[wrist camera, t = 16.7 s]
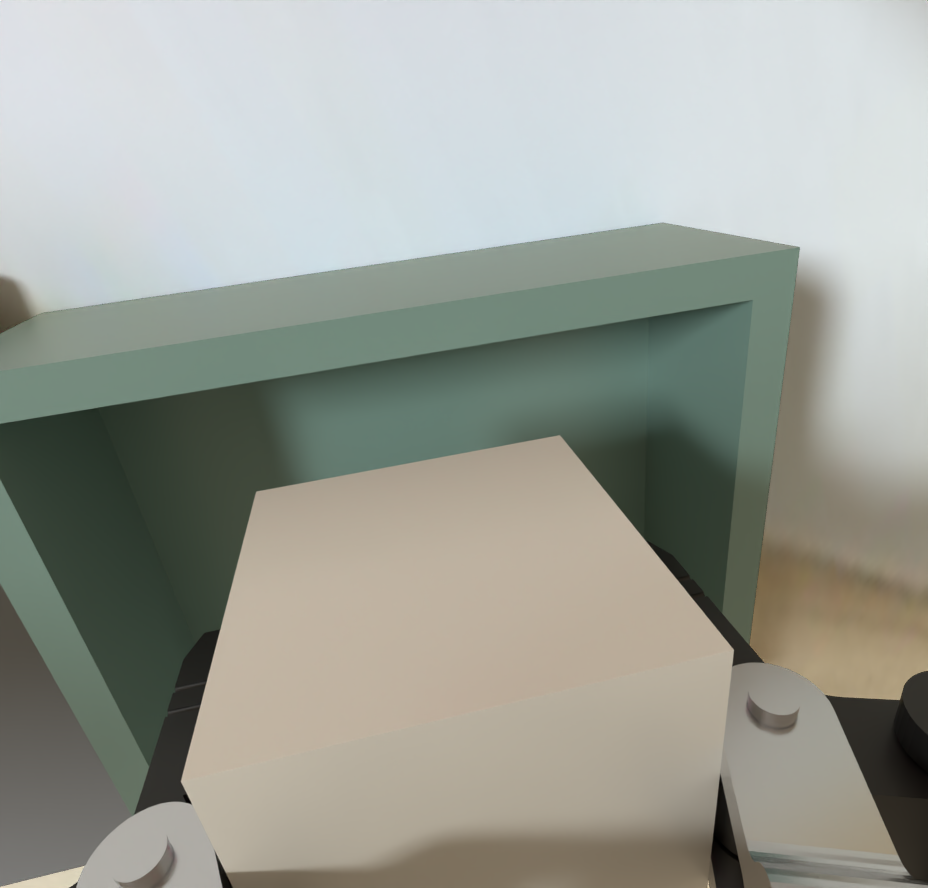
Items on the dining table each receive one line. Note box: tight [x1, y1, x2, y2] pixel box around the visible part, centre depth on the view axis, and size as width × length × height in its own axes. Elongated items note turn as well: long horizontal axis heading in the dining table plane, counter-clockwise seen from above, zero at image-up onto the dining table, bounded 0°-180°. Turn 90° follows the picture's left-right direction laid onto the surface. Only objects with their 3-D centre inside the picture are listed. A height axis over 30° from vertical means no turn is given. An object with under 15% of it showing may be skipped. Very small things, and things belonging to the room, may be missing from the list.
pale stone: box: [181, 435, 734, 888], centre depth 9 cm, size 5×5×5 cm
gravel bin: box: [0, 223, 800, 816], centre depth 15 cm, size 15×15×5 cm
